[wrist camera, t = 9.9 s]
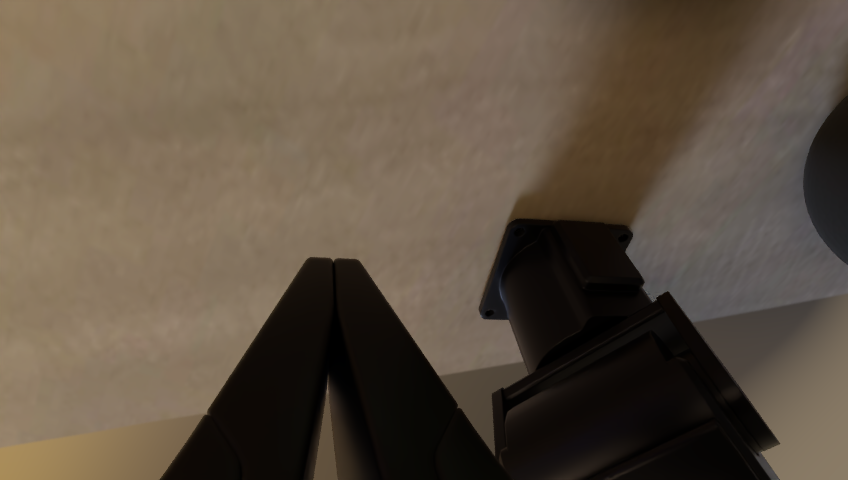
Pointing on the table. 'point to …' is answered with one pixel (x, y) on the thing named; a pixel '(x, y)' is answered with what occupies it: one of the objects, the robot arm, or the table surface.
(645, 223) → the table surface
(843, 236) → the decorative ball
